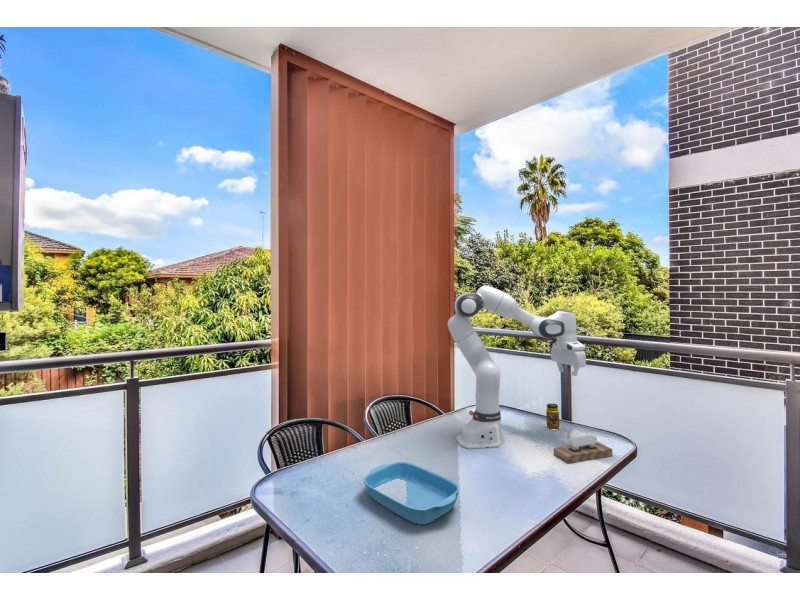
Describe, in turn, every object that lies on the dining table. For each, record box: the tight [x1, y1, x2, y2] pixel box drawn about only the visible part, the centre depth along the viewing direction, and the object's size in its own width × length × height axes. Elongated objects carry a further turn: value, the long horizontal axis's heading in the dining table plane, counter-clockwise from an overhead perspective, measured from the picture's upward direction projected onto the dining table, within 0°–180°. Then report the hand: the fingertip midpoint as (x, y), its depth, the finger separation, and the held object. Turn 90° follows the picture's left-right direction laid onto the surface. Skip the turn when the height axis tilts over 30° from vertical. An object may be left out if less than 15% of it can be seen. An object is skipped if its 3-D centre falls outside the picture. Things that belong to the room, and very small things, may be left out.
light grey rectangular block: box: [567, 434, 598, 452], centre depth 162 cm, size 12×3×8 cm, turn 104°
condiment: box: [542, 403, 563, 430], centre depth 196 cm, size 7×8×12 cm
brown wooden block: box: [553, 441, 613, 465], centre depth 162 cm, size 22×9×3 cm, turn 104°
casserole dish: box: [363, 461, 460, 525], centre depth 132 cm, size 37×22×7 cm, turn 42°
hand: (567, 373), depth 180 cm, fingers open, 8 cm apart
